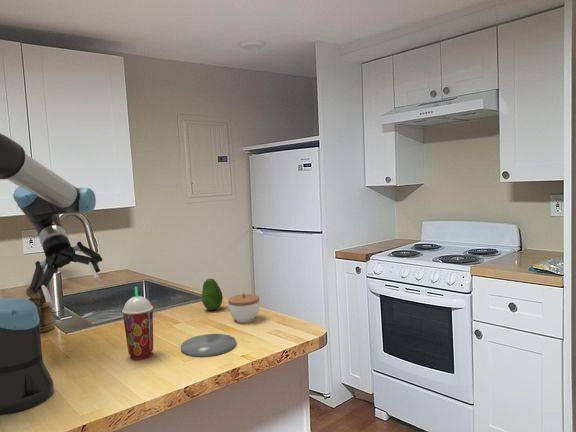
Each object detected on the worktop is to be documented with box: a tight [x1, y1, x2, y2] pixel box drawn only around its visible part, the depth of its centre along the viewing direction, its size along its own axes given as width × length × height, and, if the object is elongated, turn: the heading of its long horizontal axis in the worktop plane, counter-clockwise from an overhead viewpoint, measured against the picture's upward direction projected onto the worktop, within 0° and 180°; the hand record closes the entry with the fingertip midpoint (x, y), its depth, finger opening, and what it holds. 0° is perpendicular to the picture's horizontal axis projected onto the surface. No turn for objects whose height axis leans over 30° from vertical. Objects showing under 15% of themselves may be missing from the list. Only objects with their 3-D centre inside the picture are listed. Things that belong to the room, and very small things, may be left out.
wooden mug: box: [25, 286, 56, 334], centre depth 159 cm, size 9×14×18 cm, turn 28°
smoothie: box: [121, 286, 154, 360], centre depth 133 cm, size 8×8×20 cm
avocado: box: [201, 278, 224, 311], centre depth 175 cm, size 8×8×12 cm
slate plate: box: [180, 333, 237, 358], centre depth 138 cm, size 16×16×1 cm
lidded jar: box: [227, 292, 260, 324], centre depth 161 cm, size 11×11×9 cm
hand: (74, 292), depth 131 cm, fingers open, 13 cm apart
